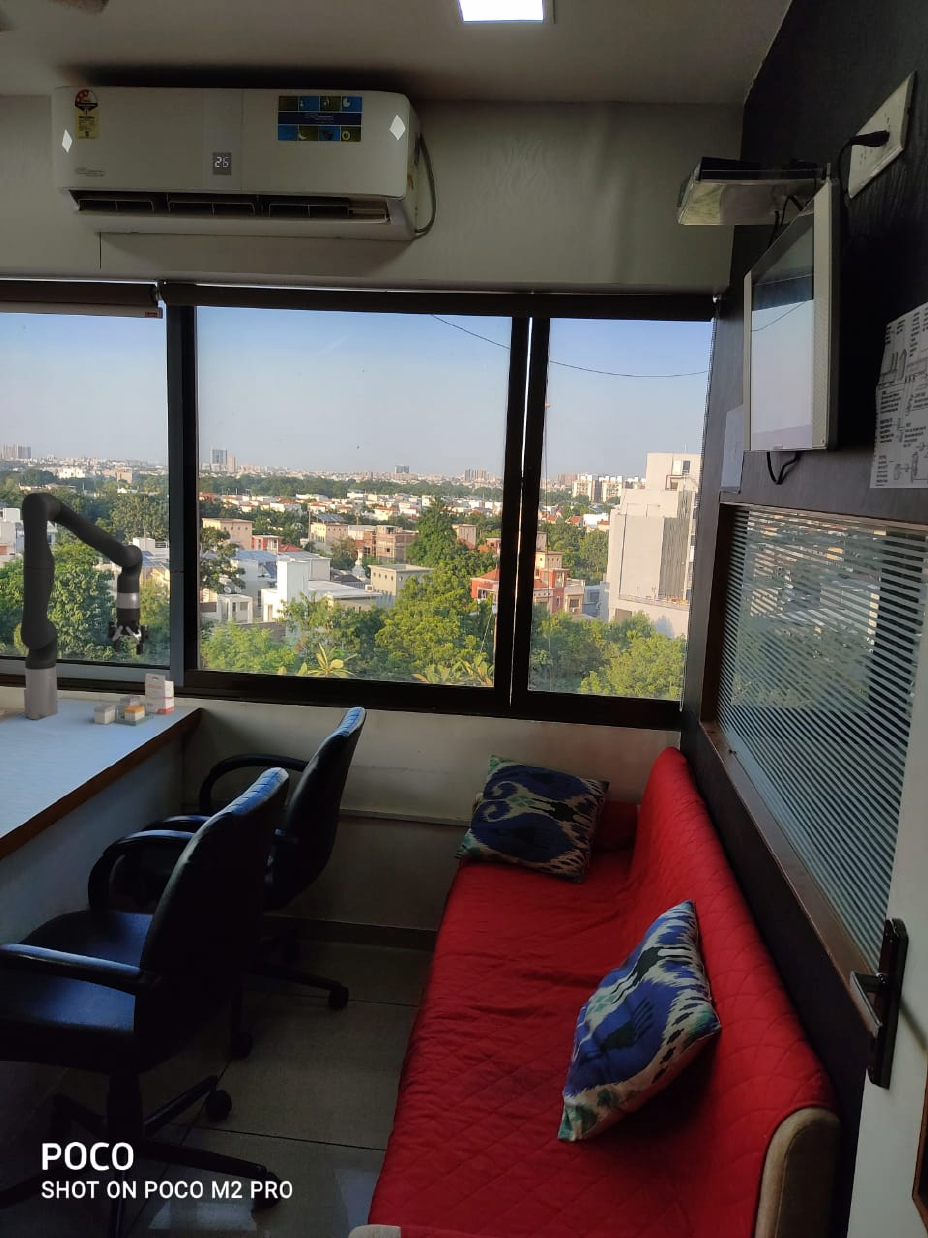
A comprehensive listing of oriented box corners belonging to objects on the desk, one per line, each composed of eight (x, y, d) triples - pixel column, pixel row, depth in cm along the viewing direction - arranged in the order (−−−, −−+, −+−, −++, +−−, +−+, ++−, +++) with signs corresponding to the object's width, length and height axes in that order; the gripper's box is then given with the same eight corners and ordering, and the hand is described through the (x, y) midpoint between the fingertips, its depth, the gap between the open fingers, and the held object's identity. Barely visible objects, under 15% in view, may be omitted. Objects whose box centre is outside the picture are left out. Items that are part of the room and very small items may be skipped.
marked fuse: (124, 723, 278) (124, 708, 277) (134, 719, 283) (134, 704, 282) (135, 724, 277) (135, 710, 276) (144, 720, 282) (144, 706, 281)
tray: (114, 725, 277) (114, 718, 276) (132, 718, 285) (132, 711, 285) (136, 728, 275) (136, 721, 274) (153, 721, 283) (153, 714, 283)
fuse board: (89, 725, 276) (89, 707, 275) (127, 710, 294) (126, 693, 293) (108, 727, 274) (107, 710, 273) (144, 712, 292) (144, 696, 291)
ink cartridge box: (174, 713, 293) (174, 673, 290) (165, 717, 288) (165, 676, 285) (154, 710, 295) (153, 670, 293) (144, 714, 290) (144, 673, 288)
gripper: (102, 604, 274) (102, 652, 277) (139, 609, 270) (139, 658, 273) (117, 601, 281) (117, 648, 284) (153, 606, 278) (153, 653, 280)
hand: (128, 653), depth 279 cm, fingers open, 8 cm apart
